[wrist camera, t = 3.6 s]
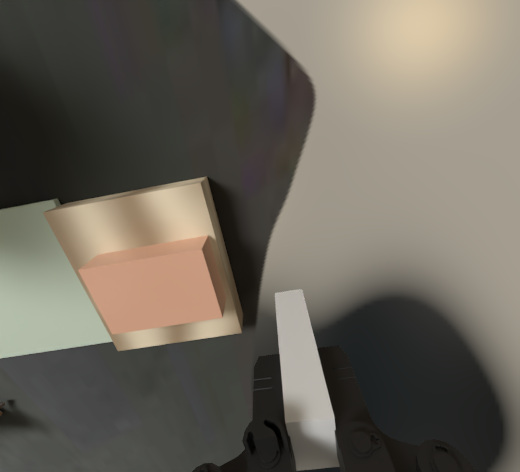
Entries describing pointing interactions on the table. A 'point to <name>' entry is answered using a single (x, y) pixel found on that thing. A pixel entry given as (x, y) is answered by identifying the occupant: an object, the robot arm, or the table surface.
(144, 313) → the block
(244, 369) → the table surface
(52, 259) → the mat
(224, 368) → the table surface
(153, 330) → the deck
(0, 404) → the lion figurine
